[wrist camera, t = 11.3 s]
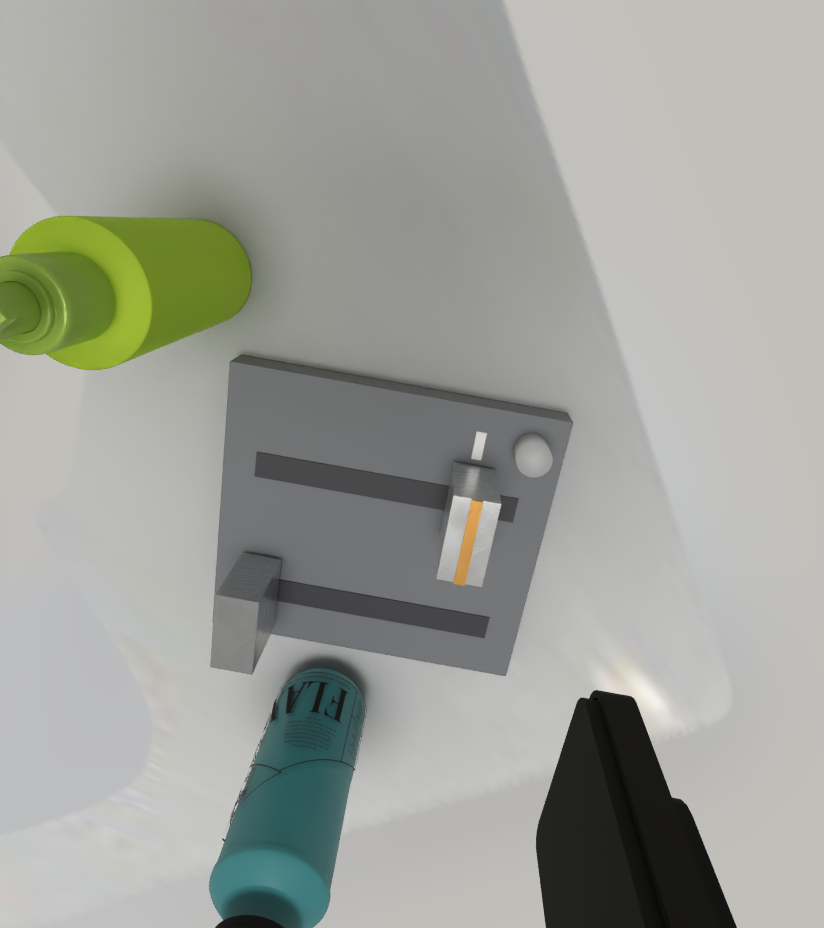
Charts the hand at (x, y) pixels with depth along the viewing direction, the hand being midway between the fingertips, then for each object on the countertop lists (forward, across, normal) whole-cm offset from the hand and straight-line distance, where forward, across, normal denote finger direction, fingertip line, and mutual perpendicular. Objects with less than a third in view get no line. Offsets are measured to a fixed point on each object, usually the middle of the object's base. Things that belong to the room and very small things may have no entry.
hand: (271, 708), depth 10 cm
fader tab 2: (+28, -5, +8) cm, 29 cm away
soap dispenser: (+31, +13, -2) cm, 33 cm away
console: (+30, 0, +11) cm, 32 cm away
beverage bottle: (+31, +2, +26) cm, 40 cm away
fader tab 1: (+28, +7, +17) cm, 33 cm away
